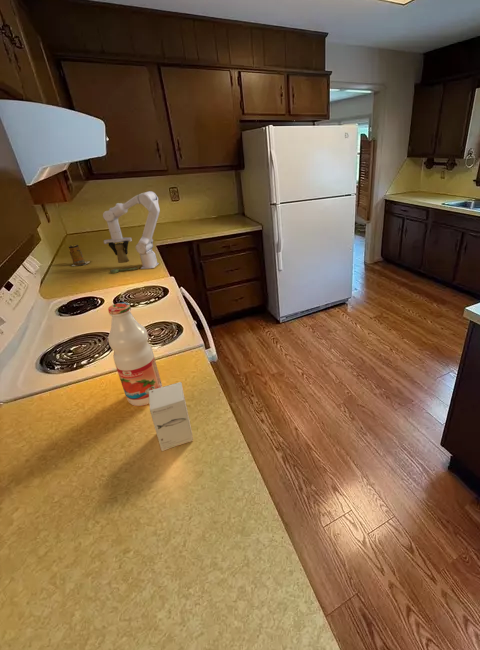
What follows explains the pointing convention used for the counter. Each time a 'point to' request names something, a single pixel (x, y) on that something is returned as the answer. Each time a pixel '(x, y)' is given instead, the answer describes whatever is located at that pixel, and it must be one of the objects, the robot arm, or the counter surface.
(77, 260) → the condiment
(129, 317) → the fruit juice
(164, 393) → the white packaging box
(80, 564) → the counter surface
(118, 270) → the spoon
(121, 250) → the cork
